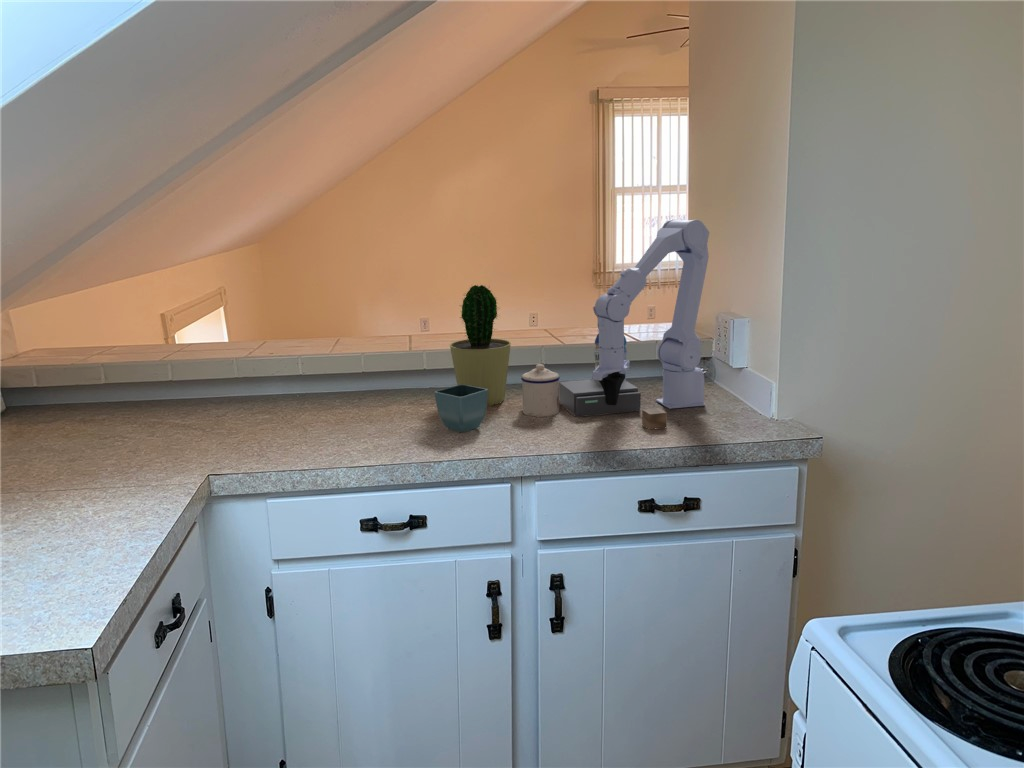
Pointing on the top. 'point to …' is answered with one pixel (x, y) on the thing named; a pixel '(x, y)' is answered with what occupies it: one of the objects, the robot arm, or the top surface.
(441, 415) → the flower pot
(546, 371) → the cream lidded canister
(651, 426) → the walnut block
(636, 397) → the tray
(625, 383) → the grey drawer box
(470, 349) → the potted cactus
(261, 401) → the top surface
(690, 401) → the robot arm
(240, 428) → the top surface
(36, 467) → the top surface
